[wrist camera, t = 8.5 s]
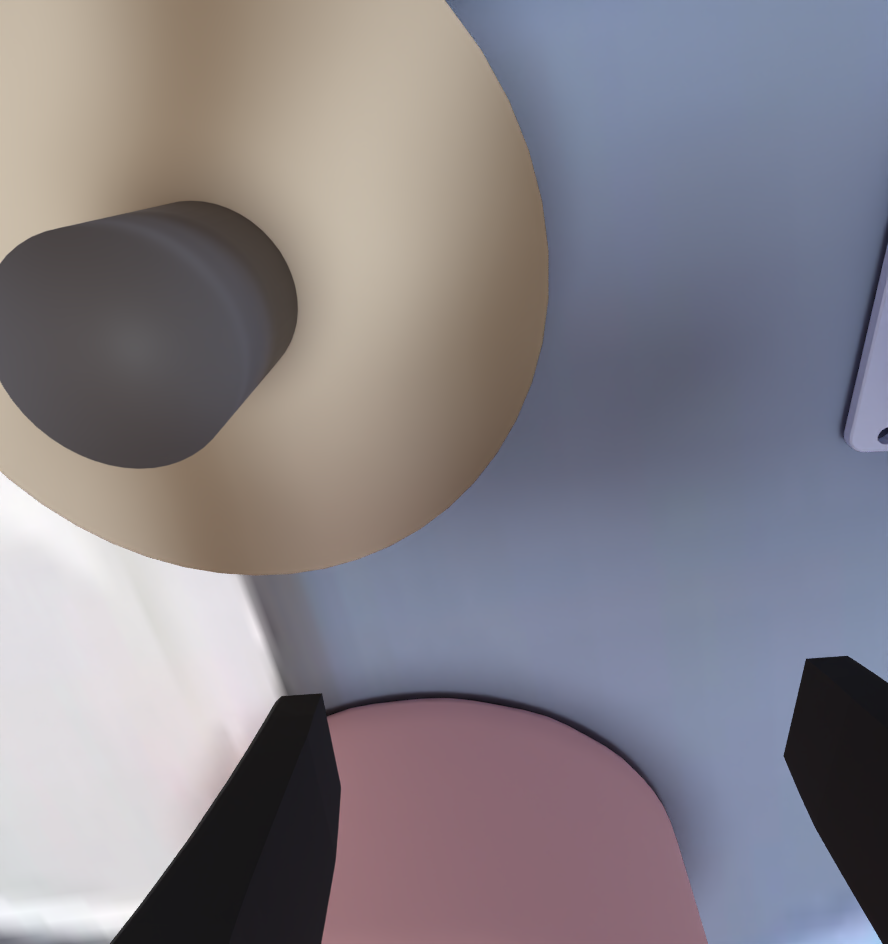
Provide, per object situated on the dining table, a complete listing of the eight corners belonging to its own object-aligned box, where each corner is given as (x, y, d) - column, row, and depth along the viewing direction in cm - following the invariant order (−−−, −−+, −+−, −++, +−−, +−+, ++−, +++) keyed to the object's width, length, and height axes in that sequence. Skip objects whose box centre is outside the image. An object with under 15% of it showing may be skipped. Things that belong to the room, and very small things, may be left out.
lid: (568, -136, 9) (643, -336, 5) (526, 552, 15) (548, 704, 11) (-231, -118, 10) (-712, -295, 6) (14, 546, 15) (-145, 692, 11)
